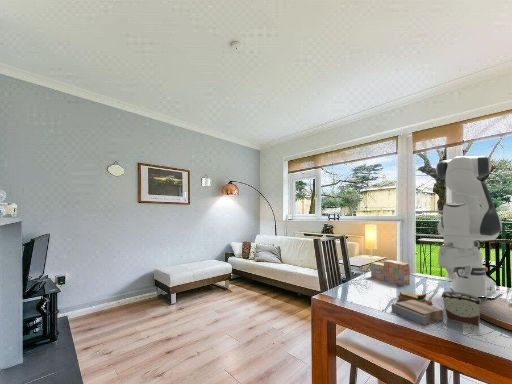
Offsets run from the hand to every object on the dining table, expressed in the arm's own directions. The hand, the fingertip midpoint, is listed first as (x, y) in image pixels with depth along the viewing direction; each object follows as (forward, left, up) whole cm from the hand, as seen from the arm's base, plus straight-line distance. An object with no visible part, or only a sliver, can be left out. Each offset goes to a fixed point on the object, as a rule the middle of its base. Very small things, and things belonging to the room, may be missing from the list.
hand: (459, 277), depth 96 cm
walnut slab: (+11, -10, -17) cm, 22 cm away
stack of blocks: (-21, -51, -17) cm, 58 cm away
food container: (0, 0, -17) cm, 17 cm away
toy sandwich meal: (0, -19, -17) cm, 26 cm away
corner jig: (+12, -10, -16) cm, 23 cm away
